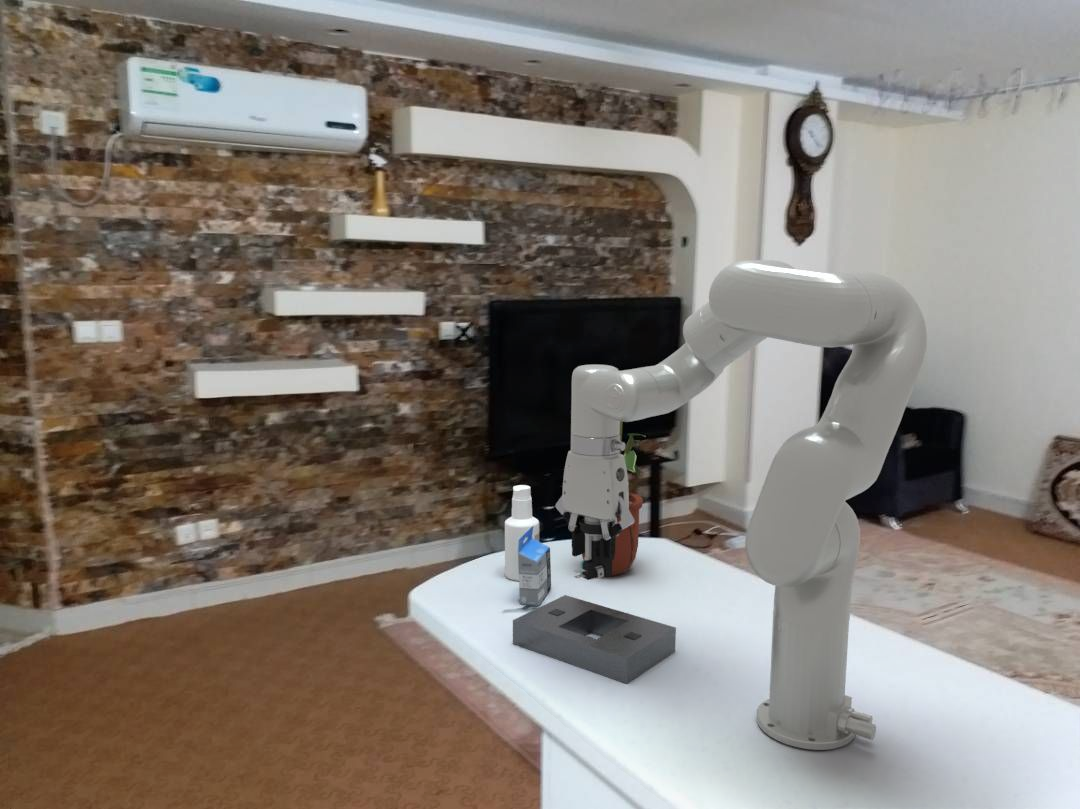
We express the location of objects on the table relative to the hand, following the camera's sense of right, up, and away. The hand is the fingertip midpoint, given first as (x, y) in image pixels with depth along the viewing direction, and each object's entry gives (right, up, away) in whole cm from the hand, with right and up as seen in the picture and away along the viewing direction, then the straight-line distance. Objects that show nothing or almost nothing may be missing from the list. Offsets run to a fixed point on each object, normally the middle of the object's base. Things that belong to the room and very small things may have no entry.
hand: (592, 556), depth 138 cm
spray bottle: (-12, -10, +35) cm, 38 cm away
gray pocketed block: (0, -15, +2) cm, 15 cm away
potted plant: (+8, -10, +37) cm, 39 cm away
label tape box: (-9, -12, +24) cm, 28 cm away
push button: (0, -3, +1) cm, 4 cm away
